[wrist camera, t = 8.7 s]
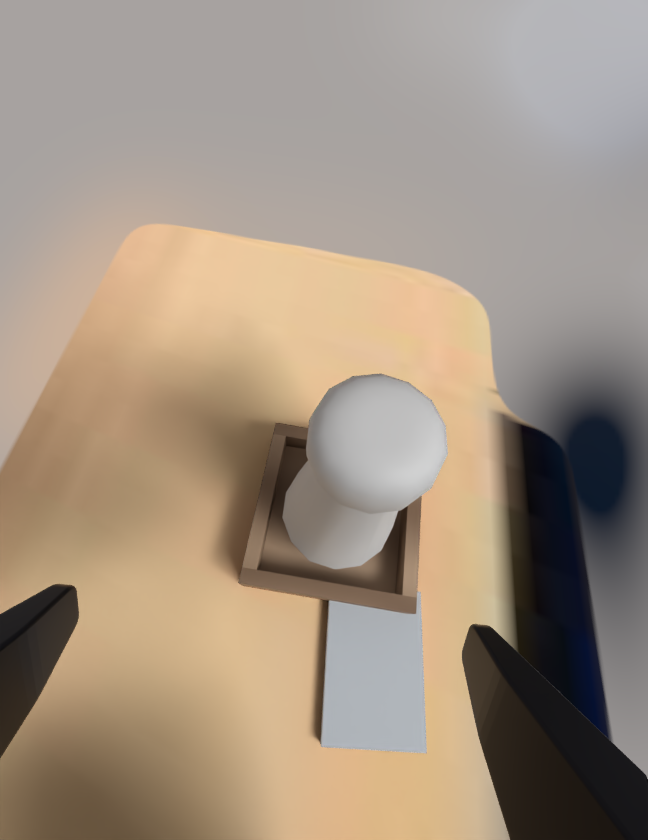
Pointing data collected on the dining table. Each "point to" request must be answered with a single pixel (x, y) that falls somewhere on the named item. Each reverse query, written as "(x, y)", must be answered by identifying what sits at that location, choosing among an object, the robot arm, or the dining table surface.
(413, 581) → the walnut socket
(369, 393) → the salt shaker
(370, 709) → the grey rectangular slab
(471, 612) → the dining table surface
